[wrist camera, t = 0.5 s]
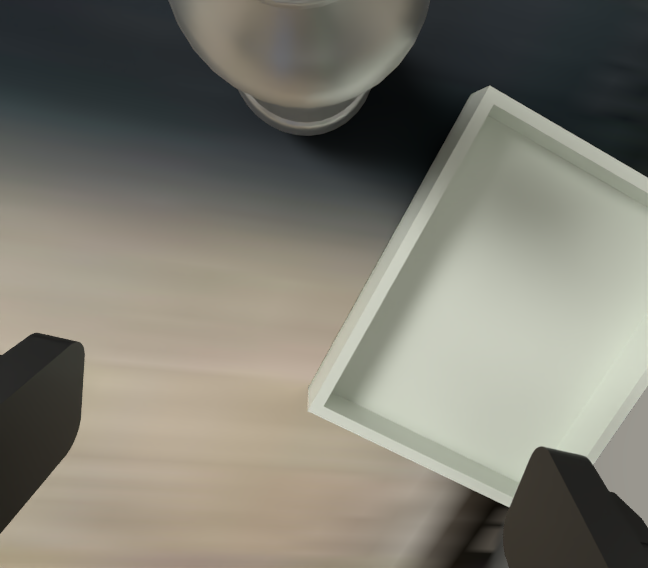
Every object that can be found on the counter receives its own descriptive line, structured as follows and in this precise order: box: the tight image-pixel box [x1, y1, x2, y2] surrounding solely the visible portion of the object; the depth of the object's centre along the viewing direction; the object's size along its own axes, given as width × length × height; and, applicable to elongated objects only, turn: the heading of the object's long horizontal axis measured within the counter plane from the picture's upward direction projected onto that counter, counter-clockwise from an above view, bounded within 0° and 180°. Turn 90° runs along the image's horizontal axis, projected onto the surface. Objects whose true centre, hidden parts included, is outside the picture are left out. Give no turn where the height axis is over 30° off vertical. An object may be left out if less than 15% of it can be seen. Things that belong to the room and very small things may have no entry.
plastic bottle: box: [168, 0, 430, 136], centre depth 17 cm, size 6×7×20 cm
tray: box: [308, 86, 648, 507], centre depth 28 cm, size 18×15×3 cm
